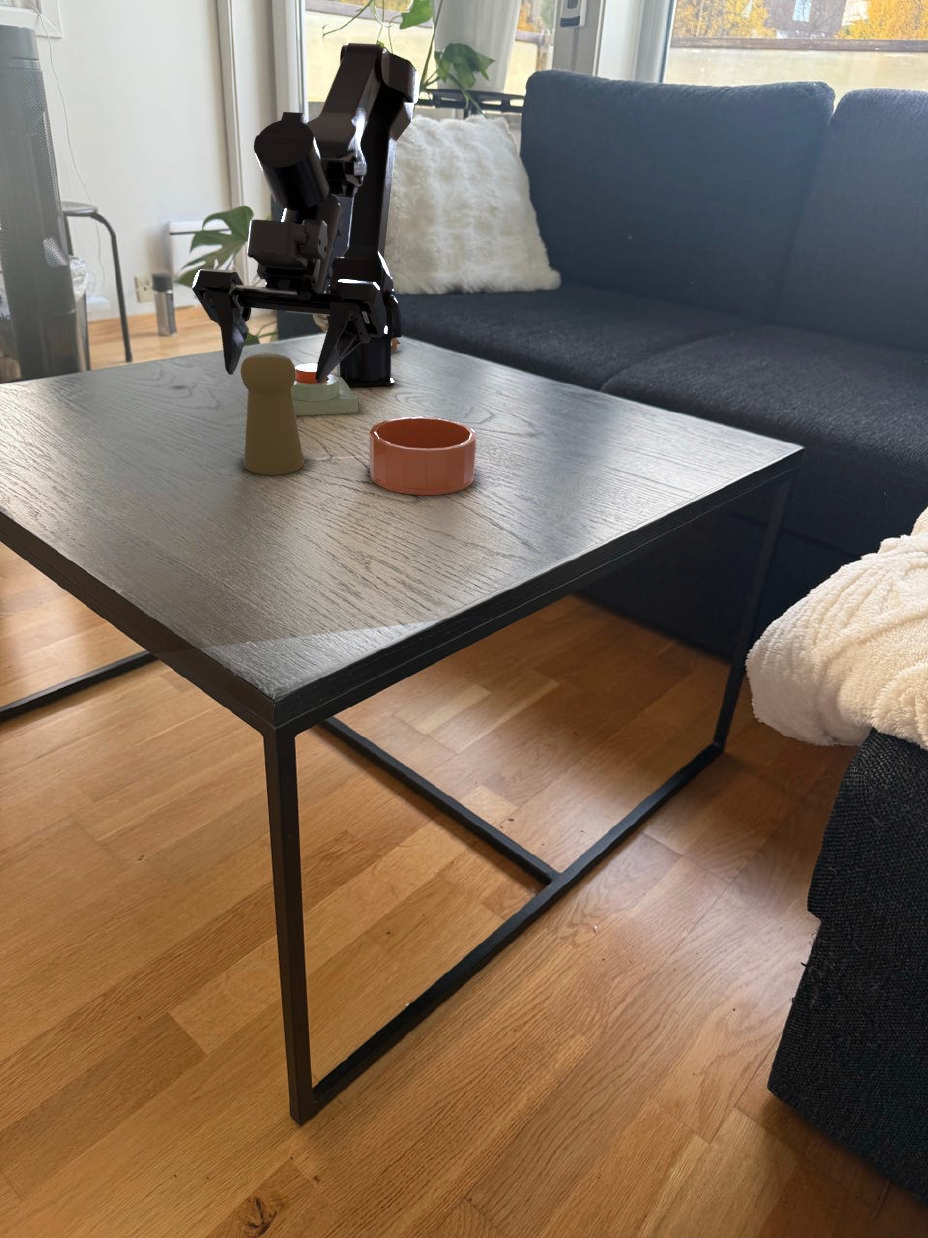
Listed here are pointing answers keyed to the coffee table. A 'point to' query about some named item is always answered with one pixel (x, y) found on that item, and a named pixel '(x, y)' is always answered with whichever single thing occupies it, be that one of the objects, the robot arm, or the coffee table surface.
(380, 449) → the bowl
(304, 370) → the button
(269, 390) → the cork
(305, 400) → the button box
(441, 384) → the coffee table surface
